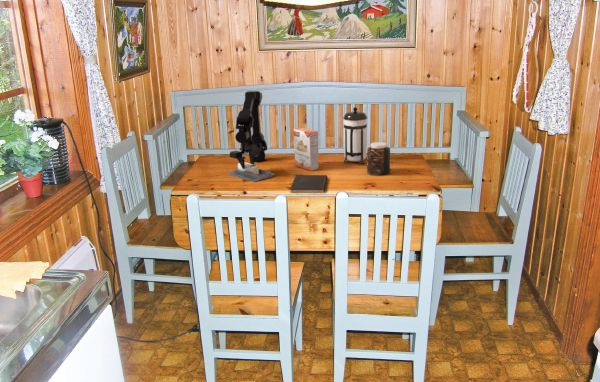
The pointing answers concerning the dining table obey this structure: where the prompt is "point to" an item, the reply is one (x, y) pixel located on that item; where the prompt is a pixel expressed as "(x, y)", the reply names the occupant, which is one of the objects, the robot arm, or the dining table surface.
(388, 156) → the jar
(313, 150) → the cracker box
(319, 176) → the hardcover book
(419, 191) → the dining table surface
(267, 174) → the mount plate
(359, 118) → the coffee press
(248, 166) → the white rectangular block
